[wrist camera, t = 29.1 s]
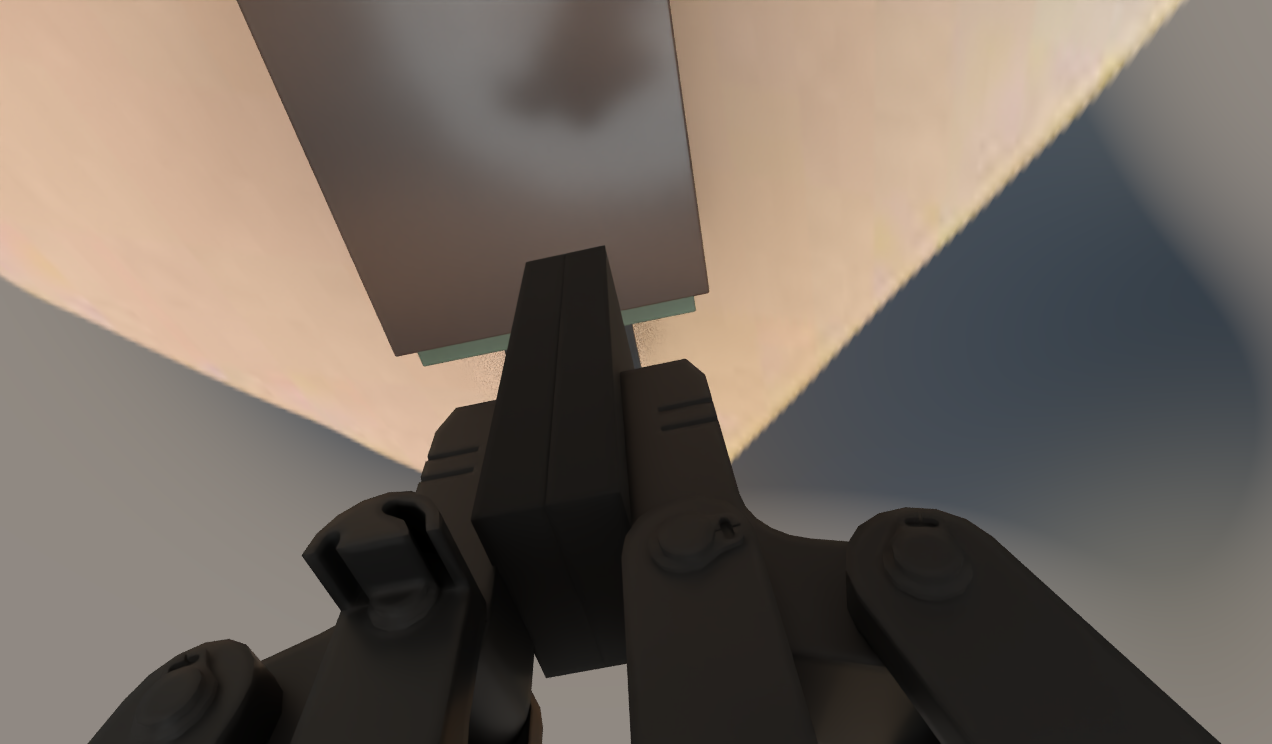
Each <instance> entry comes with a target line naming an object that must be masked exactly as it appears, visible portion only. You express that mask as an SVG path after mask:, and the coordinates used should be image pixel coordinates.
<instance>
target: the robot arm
mask: <svg viewBox="0 0 1272 744" xmlns="http://www.w3.org/2000/svg"><path fill="white" fill-rule="evenodd" d="M421 480H422V481H421V482H420V483H419V484H418V487H417V490H416V492H412V491H405V492H389V493H386V494H382V495H379V496H376V497H373V498H370V499H367V500H364V501H362V502H360V503H358V504H357V505H355V506H353V507H352V508H350V509H348V510H346V511H344V512H343V513H341V514H339V515H338V516H336V517H335V518H334V519H333V520H332V521H331V522H330V523H328V524H327V525H326V526H325V527H324V528H323V529H322V530H320V531H319V532H318V533H317V534H316V536H315V537H314V538H313V540H312V541H311V543H310V544H309V545H308V547H307V548H306V550H305V551H304V553H303V554H302V557H303V558H304V559H305V561H306V562H307V564H308V565H309V566H310V568H311V569H312V571H313V572H314V573H315V575H316V576H317V578H318V579H319V580H320V582H321V583H322V585H323V586H324V588H325V589H326V590H327V592H328V593H329V595H330V596H331V597H332V599H333V600H334V602H335V603H336V604H337V606H338V607H339V608H340V610H341V612H340V615H339V618H338V620H337V623H336V625H335V626H333V627H332V628H330V629H328V630H326V631H324V632H322V633H321V634H319V635H316V636H314V637H312V638H310V639H308V640H305V641H303V642H301V643H299V644H297V645H295V646H292V647H290V648H288V649H286V650H284V651H282V652H279V653H277V654H275V655H273V656H271V657H268V658H266V659H264V660H262V661H260V660H259V659H258V657H257V656H256V655H255V654H254V653H253V652H252V651H251V649H250V648H249V647H248V646H247V645H246V644H243V643H240V642H237V641H234V640H230V639H227V640H220V641H213V642H206V643H204V644H201V645H199V646H197V647H194V648H192V649H190V650H188V651H185V652H183V653H181V654H179V655H177V656H175V657H174V658H173V659H171V660H170V661H168V662H167V663H166V664H164V665H163V666H161V667H160V668H158V669H157V670H156V671H154V672H153V673H151V674H150V675H149V676H148V677H147V678H146V679H145V680H144V681H143V682H142V683H141V684H140V685H139V686H138V687H137V688H136V689H135V690H134V691H133V692H132V693H131V694H130V695H129V696H128V697H127V698H126V699H125V700H124V701H123V702H122V703H121V704H120V706H119V707H118V708H117V709H116V710H115V712H114V713H113V714H112V715H111V716H110V718H109V719H108V720H107V721H106V722H105V724H104V725H103V726H102V727H101V729H100V730H99V731H98V732H97V733H96V734H95V736H94V737H93V738H92V739H91V741H90V742H89V743H88V744H542V734H543V733H542V732H543V725H542V718H541V710H540V706H539V705H538V703H537V701H536V699H535V697H534V695H533V693H532V691H531V687H532V675H533V662H534V654H535V656H536V658H537V660H538V662H539V664H540V666H541V668H542V671H543V673H544V675H545V677H546V678H549V677H555V676H561V675H566V674H571V673H577V672H583V671H588V670H593V669H600V668H605V667H611V666H616V665H621V664H627V674H628V692H629V712H630V731H631V744H1221V743H1220V742H1219V741H1218V740H1217V739H1216V738H1214V737H1213V736H1212V735H1211V734H1210V733H1209V732H1208V731H1207V730H1206V729H1204V728H1203V727H1202V726H1201V725H1200V724H1199V723H1198V722H1197V721H1196V720H1194V719H1193V718H1192V717H1191V716H1190V715H1189V714H1188V713H1187V712H1186V711H1185V710H1183V709H1182V708H1181V707H1180V706H1179V705H1178V704H1177V703H1176V702H1175V701H1173V700H1172V699H1171V698H1170V697H1169V696H1168V695H1167V694H1166V693H1165V692H1163V691H1162V690H1161V689H1160V688H1159V687H1158V686H1157V685H1156V684H1155V683H1153V681H1151V680H1150V679H1149V678H1148V677H1147V676H1146V675H1145V674H1144V673H1143V672H1141V671H1140V670H1139V669H1138V668H1137V667H1136V666H1135V665H1134V664H1133V663H1132V662H1130V661H1129V660H1128V659H1127V658H1126V657H1125V656H1124V655H1123V654H1122V653H1121V652H1119V651H1118V650H1117V649H1116V648H1115V647H1114V646H1113V645H1112V644H1111V643H1109V642H1108V641H1107V640H1106V639H1105V638H1104V637H1103V636H1102V635H1101V634H1099V633H1098V632H1097V631H1096V630H1095V629H1094V628H1093V627H1092V626H1091V625H1090V624H1088V623H1087V622H1086V621H1085V620H1084V619H1083V618H1082V617H1081V616H1080V615H1079V614H1077V613H1076V612H1075V611H1074V610H1073V609H1072V608H1071V607H1070V606H1069V605H1067V604H1066V603H1065V602H1064V601H1063V600H1062V599H1061V598H1060V597H1059V596H1057V595H1056V594H1055V593H1054V592H1053V591H1052V590H1051V589H1050V588H1049V587H1048V586H1046V585H1045V584H1044V583H1043V582H1042V581H1041V580H1040V579H1039V578H1038V577H1036V576H1035V575H1034V574H1033V573H1032V572H1031V571H1030V570H1029V569H1028V568H1027V567H1025V566H1024V565H1023V564H1022V563H1021V562H1020V561H1019V560H1018V559H1017V558H1015V557H1014V556H1013V555H1012V554H1011V553H1010V552H1009V551H1008V550H1007V549H1006V548H1004V547H1003V546H1002V545H1001V544H1000V543H999V542H998V541H997V540H996V539H995V538H993V537H992V536H991V535H989V534H988V533H986V532H985V531H983V530H982V529H980V528H979V527H977V526H976V525H974V524H973V523H971V522H970V521H968V520H967V519H964V518H961V517H958V516H955V515H952V514H949V513H946V512H943V511H940V510H937V509H924V508H907V507H905V508H901V509H896V510H892V511H887V512H883V513H879V514H877V515H875V516H874V517H872V518H871V519H869V520H868V521H866V522H864V523H863V524H861V525H860V526H858V528H857V529H856V531H855V532H854V534H853V536H852V537H851V539H850V541H849V542H847V541H834V540H821V539H810V538H804V537H798V536H793V535H789V534H786V533H783V532H781V531H778V530H775V529H773V528H771V527H769V526H768V525H766V524H764V523H763V522H761V521H760V520H758V519H757V518H756V517H755V516H754V515H753V514H752V513H751V512H750V511H749V510H748V509H747V508H746V506H745V504H744V502H743V500H742V498H741V496H740V494H739V491H738V487H737V484H736V480H735V477H734V473H733V470H732V466H731V463H730V459H729V456H728V452H727V449H726V445H725V442H724V439H723V435H722V432H721V428H720V425H719V421H718V419H717V414H716V411H715V407H714V404H713V401H712V397H711V393H710V390H709V387H708V383H707V380H706V376H705V374H704V373H702V372H701V371H700V370H699V369H698V368H696V367H695V366H694V365H693V364H692V363H690V362H689V361H688V360H687V359H681V360H677V361H672V362H667V363H662V364H657V365H652V366H647V367H642V368H638V369H634V364H633V360H632V356H631V352H630V348H629V344H628V339H627V335H626V331H625V327H624V323H623V319H622V314H621V310H620V306H619V302H618V298H617V294H616V289H615V285H614V281H613V277H612V273H611V269H610V265H609V260H608V256H607V252H606V248H605V245H603V246H598V247H593V248H589V249H584V250H580V251H575V252H570V253H566V254H561V255H556V256H552V257H547V258H542V259H538V260H533V261H529V262H526V264H525V269H524V273H523V278H522V282H521V287H520V292H519V296H518V301H517V306H516V310H515V315H514V320H513V324H512V329H511V334H510V338H509V343H508V348H507V352H506V357H505V362H504V366H503V371H502V376H501V380H500V385H499V390H498V394H497V399H496V400H493V401H488V402H483V403H478V404H473V405H469V406H464V407H459V408H456V409H455V410H454V411H453V412H452V413H451V415H450V416H449V417H448V418H447V419H446V420H445V422H444V423H443V424H442V425H441V426H440V427H439V429H438V430H437V431H436V433H435V436H434V439H433V442H432V445H431V448H430V451H429V454H428V461H426V463H425V466H424V469H423V472H422V475H421Z"/></svg>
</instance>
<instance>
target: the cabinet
mask: <svg viewBox="0 0 1272 744" xmlns="http://www.w3.org/2000/svg"><path fill="white" fill-rule="evenodd" d="M237 2H238V4H239V7H240V9H241V11H242V13H243V16H244V18H245V20H246V22H247V25H248V27H249V29H250V31H251V34H252V36H253V38H254V40H255V43H256V45H257V47H258V49H259V51H260V54H261V56H262V58H263V60H264V63H265V65H266V67H267V69H268V72H269V74H270V76H271V78H272V81H273V83H274V85H275V87H276V90H277V92H278V94H279V96H280V99H281V101H282V103H283V105H284V108H285V110H286V112H287V114H288V117H289V119H290V121H291V123H292V125H293V128H294V130H295V132H296V134H297V137H298V139H299V141H300V143H301V146H302V148H303V150H304V152H305V155H306V157H307V159H308V161H309V164H310V166H311V168H312V170H313V173H314V175H315V177H316V179H317V182H318V184H319V186H320V188H321V190H322V193H323V195H324V197H325V199H326V202H327V204H328V206H329V208H330V211H331V213H332V215H333V217H334V220H335V222H336V224H337V226H338V229H339V231H340V233H341V235H342V238H343V240H344V242H345V244H346V247H347V249H348V251H349V253H350V256H351V258H352V260H353V262H354V264H355V267H356V269H357V271H358V273H359V276H360V278H361V280H362V282H363V285H364V287H365V289H366V291H367V294H368V296H369V298H370V300H371V303H372V305H373V307H374V309H375V312H376V314H377V316H378V318H379V321H380V323H381V325H382V327H383V330H384V332H385V334H386V336H387V338H388V341H389V343H390V345H391V347H392V350H393V352H394V354H395V356H402V355H407V354H412V353H417V352H422V351H427V350H431V349H436V348H441V347H446V346H451V345H456V344H461V343H466V342H471V341H476V340H481V339H485V338H490V337H495V336H500V335H505V334H510V333H511V329H512V324H513V320H514V315H515V310H516V306H517V301H518V296H519V292H520V287H521V282H522V278H523V273H524V269H525V264H526V262H529V261H533V260H538V259H542V258H547V257H552V256H556V255H561V254H566V253H570V252H575V251H580V250H584V249H589V248H593V247H598V246H603V245H605V248H606V252H607V256H608V260H609V265H610V269H611V273H612V277H613V281H614V285H615V289H616V294H617V298H618V302H619V306H620V310H621V311H623V310H628V309H633V308H638V307H642V306H647V305H652V304H657V303H662V302H667V301H672V300H677V299H682V298H687V297H691V296H696V295H701V294H706V293H709V285H708V278H707V271H706V263H705V256H704V249H703V242H702V234H701V227H700V220H699V213H698V205H697V198H696V191H695V183H694V176H693V169H692V162H691V154H690V147H689V140H688V133H687V125H686V118H685V111H684V104H683V96H682V89H681V82H680V75H679V67H678V60H677V53H676V46H675V38H674V31H673V24H672V16H671V9H670V2H669V0H237Z"/></svg>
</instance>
